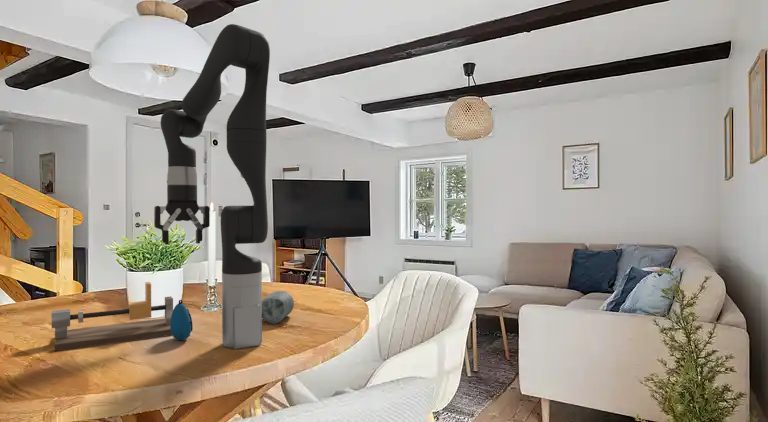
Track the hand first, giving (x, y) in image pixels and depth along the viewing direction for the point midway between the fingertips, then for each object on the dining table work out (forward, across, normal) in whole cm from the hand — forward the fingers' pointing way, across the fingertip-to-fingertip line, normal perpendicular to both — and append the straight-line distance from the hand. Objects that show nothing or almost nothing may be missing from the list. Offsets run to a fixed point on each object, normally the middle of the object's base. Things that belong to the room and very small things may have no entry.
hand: (182, 243), depth 128 cm
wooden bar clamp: (+23, -16, 0) cm, 28 cm away
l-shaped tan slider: (+19, -10, 0) cm, 22 cm away
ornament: (+23, -2, -13) cm, 27 cm away
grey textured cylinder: (+23, +24, -6) cm, 34 cm away
